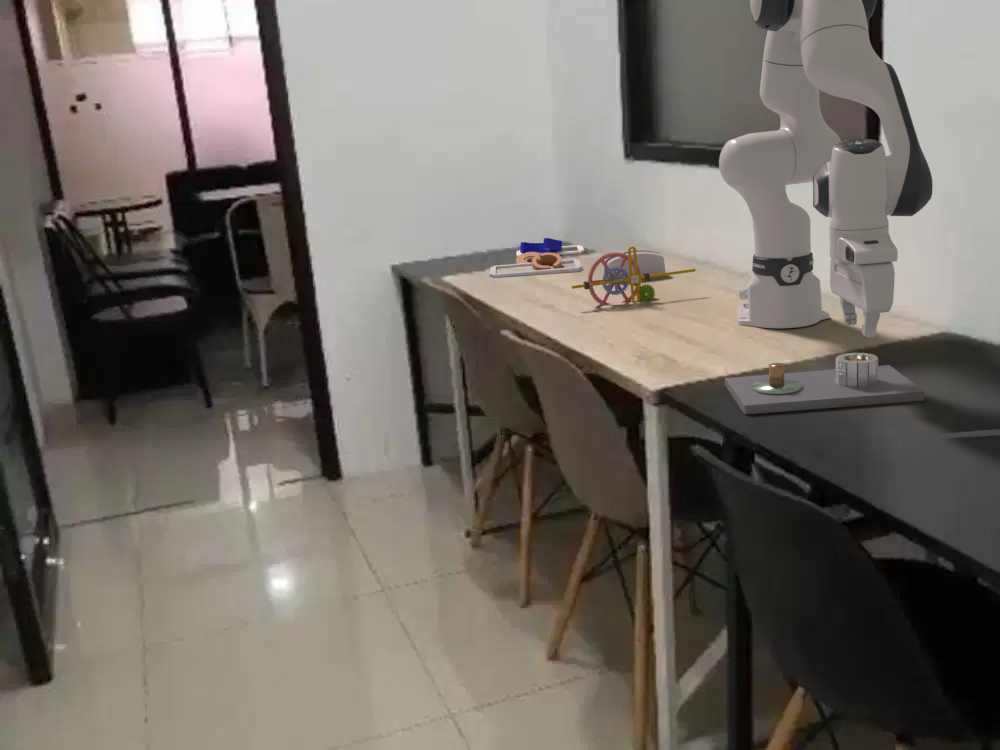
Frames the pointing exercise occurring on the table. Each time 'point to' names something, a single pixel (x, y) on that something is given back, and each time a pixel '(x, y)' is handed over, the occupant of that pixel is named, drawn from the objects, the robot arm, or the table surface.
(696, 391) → the table surface
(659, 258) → the grey rounded block
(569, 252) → the bin
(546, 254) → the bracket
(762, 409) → the board
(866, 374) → the steel ring
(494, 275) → the bin
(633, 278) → the mechanical gear assembly
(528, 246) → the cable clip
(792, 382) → the post
